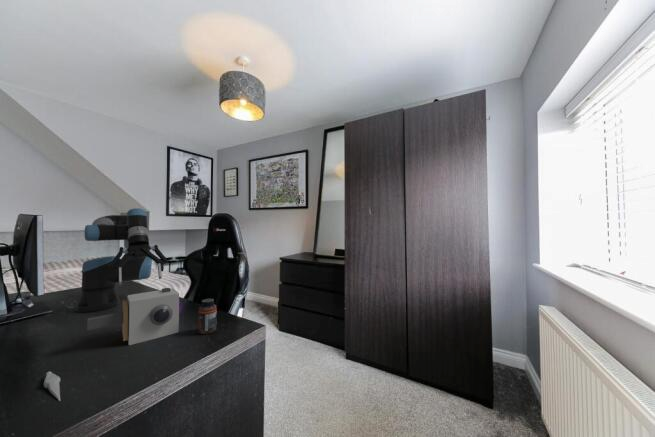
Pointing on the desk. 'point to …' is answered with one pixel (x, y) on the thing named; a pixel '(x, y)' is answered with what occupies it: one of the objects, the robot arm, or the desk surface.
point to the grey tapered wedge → (53, 384)
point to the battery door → (111, 321)
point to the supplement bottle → (207, 317)
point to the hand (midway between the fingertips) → (141, 280)
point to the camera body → (152, 315)
